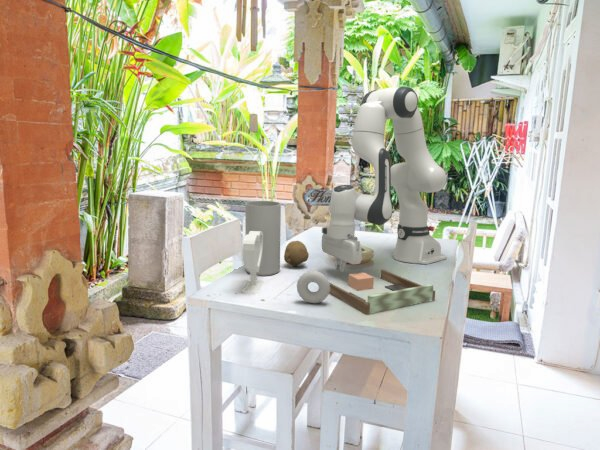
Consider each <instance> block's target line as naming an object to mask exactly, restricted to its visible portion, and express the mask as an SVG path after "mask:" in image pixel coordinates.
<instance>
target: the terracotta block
mask: <svg viewBox="0 0 600 450" xmlns="http://www.w3.org/2000/svg"><path fill="white" fill-rule="evenodd" d="M374 279H375V278H374V276H372V275H371V274H368V273H366V272H358V273H357V272H356V273H349V274H348V279H347V280H348V284H347V285H348V287H351V288H352V289H354V290H355V291H358V292H359V291H366V290H373V289H374V285H375V283H374V282H375V281H374Z"/></svg>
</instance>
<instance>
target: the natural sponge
mask: <svg viewBox="0 0 600 450" xmlns="http://www.w3.org/2000/svg"><path fill="white" fill-rule="evenodd" d="M309 257H310V256H309V252H308V249H307V247H306V245H305V244H304V243H303V242H302V241H300V240H291V241H290V242H289V243H288V244H287V245H286V247H285V249H284V255H283V258H284V262H285V263H287V264H289V265H290V266H292V267H298V266H300V265H301V264H303V263H305V262H306V261H307V260H309Z"/></svg>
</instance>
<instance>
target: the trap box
mask: <svg viewBox="0 0 600 450" xmlns="http://www.w3.org/2000/svg"><path fill="white" fill-rule="evenodd" d="M380 279H382V280H384V281H386V282H388V283H391V284H390V285H389V284H388V285H384V288H385V289H388V290H390V291H388V292H382V293H376V294H371V295H367V300H366V299H365V298H364V299H363V298H362V297H360V296H358V295H357V294H355V293H353V292H348V291H347V290H345V289H342V288H341V287H339V286H338V285H335V284H334V283H331V282H330V281H329V283H330V292H329V294H330V295H332V296H333V297H335V298H336V299H338V300H339V301H341V302H344V303H345V304H347V305H349V306H351V307H353V308H354V309H356V310H358V311H360V312H362V313H363V314H364V315H371V314H372V315H373V314H376V313H380V312H381V313H382V312H385V311H390V310H395V309H400V308H403V307H409V305H410V306H414V305H413V304H415V305H418V304H417V303H419V304H423V303H422V302H424V303H427V302H426V301H429V302H431V301H430V300H434V301H436V300H435V299H436V290H434V284H431V283H430V284H429V283H428V284H424V285H421V284H419V283H416V282H415V281H412V280H410V279H406V278H405V277H402V276H400V275H397V274H395V273H392V272H390V271H387V270H385V269H381V270H380ZM329 294H328V295H329Z"/></svg>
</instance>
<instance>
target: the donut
mask: <svg viewBox="0 0 600 450" xmlns="http://www.w3.org/2000/svg"><path fill="white" fill-rule="evenodd" d="M329 282H330V281H329V279H328V278H327V276H326V275H325V274H323V273H322V272H320V271H318V270H317V271H316V270H309V271H306V272H304V273H303V274H301V275H300V276H299V278H298V280H297V283H296V290H297V293H298V296H299V297H300V299H302V300H303V301H305V303H309V304H319V303H322V302H324V301H325V300H326V299H327V297H328V296H329V292H330V283H331V282H330V283H329ZM311 283H315V284H317V286H318V288H317V291H311V290H310V289H309V284H311Z"/></svg>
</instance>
